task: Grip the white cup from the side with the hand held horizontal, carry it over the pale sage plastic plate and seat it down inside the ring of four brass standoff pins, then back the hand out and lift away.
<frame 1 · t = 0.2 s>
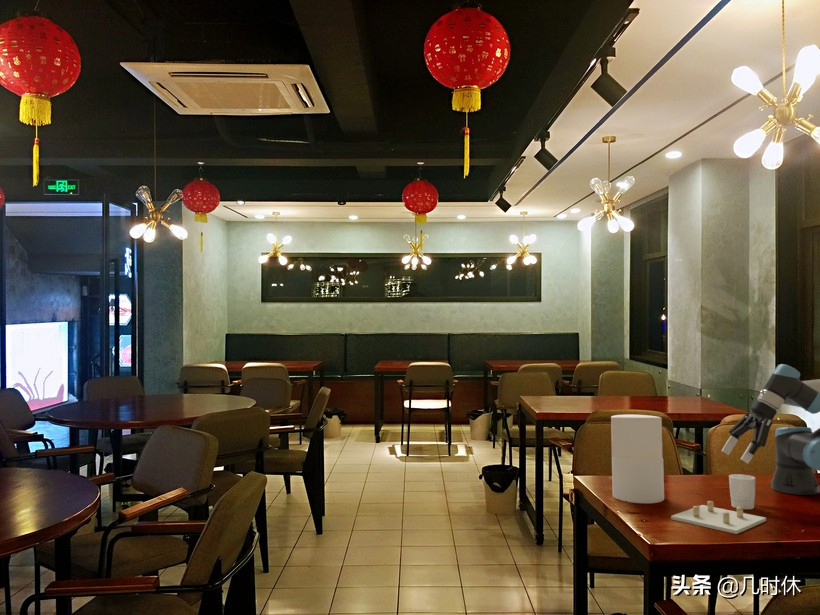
hand: (734, 457, 228), 15 cm above the table, tool tilted 35°, fingers open, 13 cm apart
cylinder: (638, 497, 233), on the table
white cup: (742, 507, 218), on the table
standoff plate: (718, 520, 204), on the table
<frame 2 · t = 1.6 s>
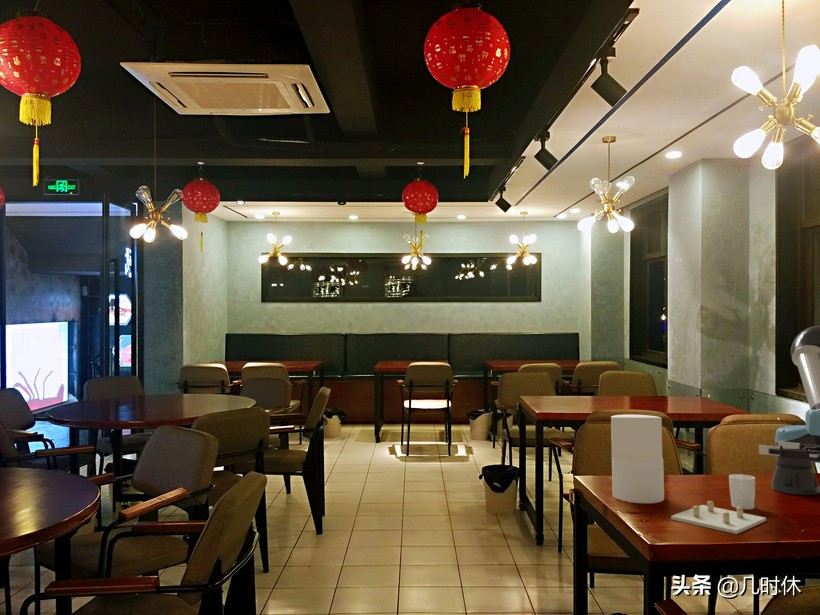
hand: (768, 447, 213), 21 cm above the table, tool horizontal, fingers open, 13 cm apart
nothing on the table moved.
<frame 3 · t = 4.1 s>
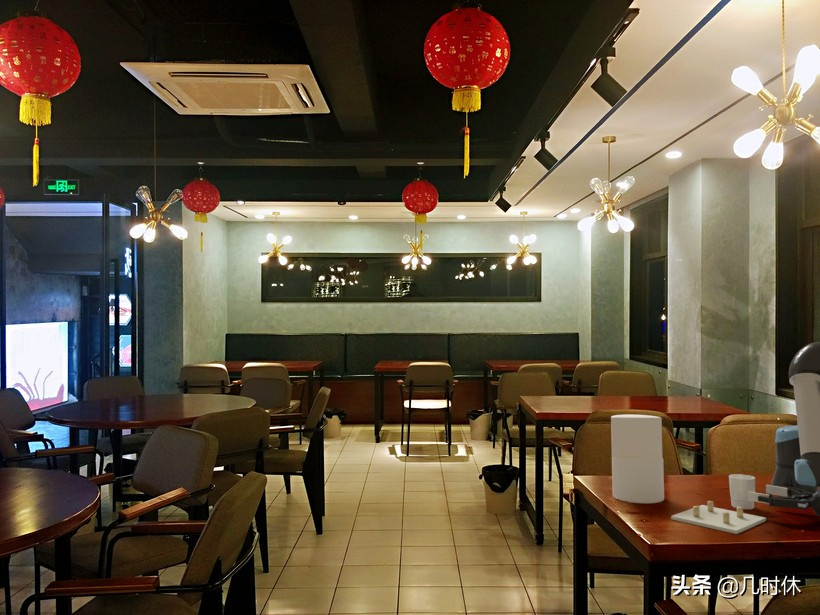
hand: (757, 492, 214), 6 cm above the table, tool horizontal, fingers open, 13 cm apart
nothing on the table moved.
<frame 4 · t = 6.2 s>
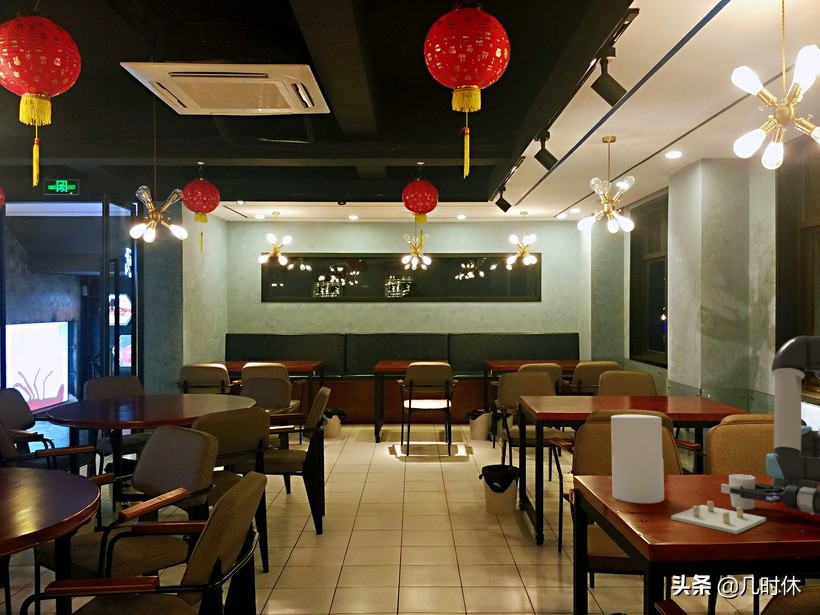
hand: (727, 486, 222), 6 cm above the table, tool horizontal, fingers closed on white cup, 8 cm apart
white cup: (742, 507, 218), on the table, touching gripper
everything else where it was.
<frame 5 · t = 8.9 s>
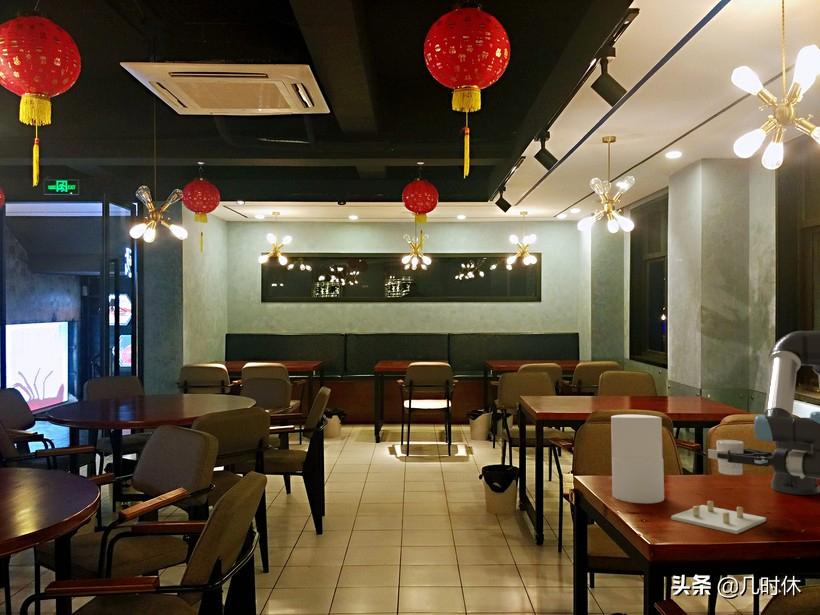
hand: (714, 452, 214), 19 cm above the table, tool horizontal, fingers closed on white cup, 8 cm apart
white cup: (730, 473, 210), point 13 cm above the table, touching gripper
everything else where it was.
when the fingers open (9 cm above the table, at t = 11.6 s): white cup drops 2 cm, resting on standoff plate.
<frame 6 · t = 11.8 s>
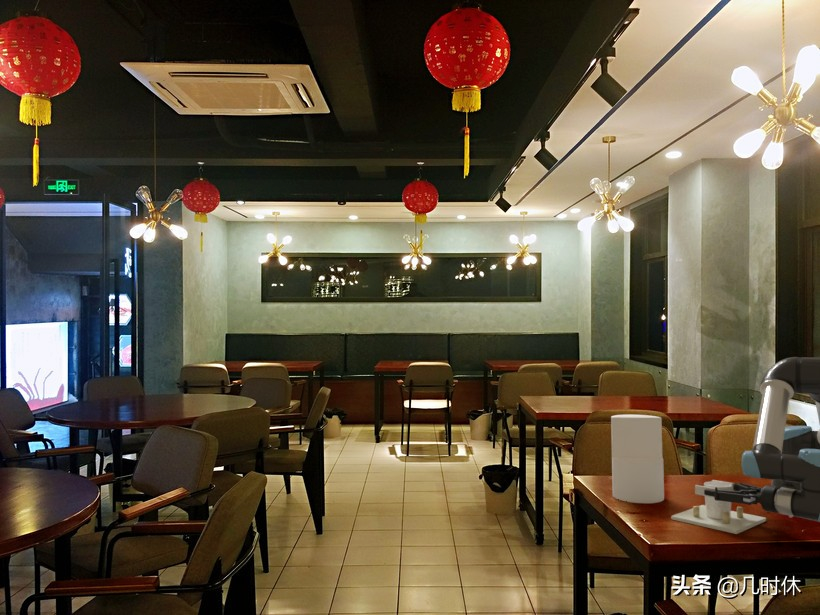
hand: (704, 486, 207), 9 cm above the table, tool horizontal, fingers open, 10 cm apart
white cup: (718, 517, 204), point 1 cm above the table, touching standoff plate
everything else where it was.
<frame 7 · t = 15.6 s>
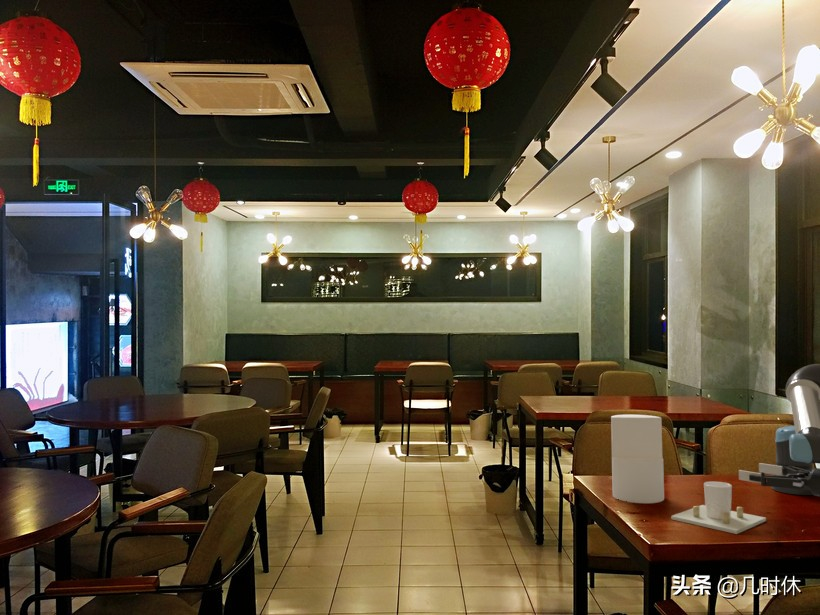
hand: (749, 471, 196), 17 cm above the table, tool horizontal, fingers open, 13 cm apart
nothing on the table moved.
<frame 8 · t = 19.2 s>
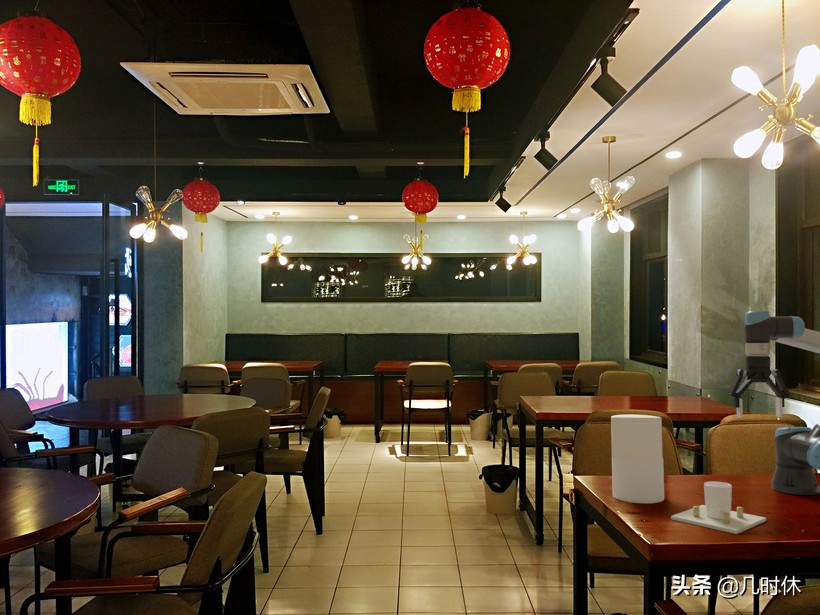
hand: (759, 417, 226), 29 cm above the table, tool pointing down, fingers open, 13 cm apart
nothing on the table moved.
at the end: white cup 0.1 cm off-centre on the standoff plate, point 0.8 cm above the standoff plate's base; white cup tilted 0°; the gripper is holding nothing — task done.
